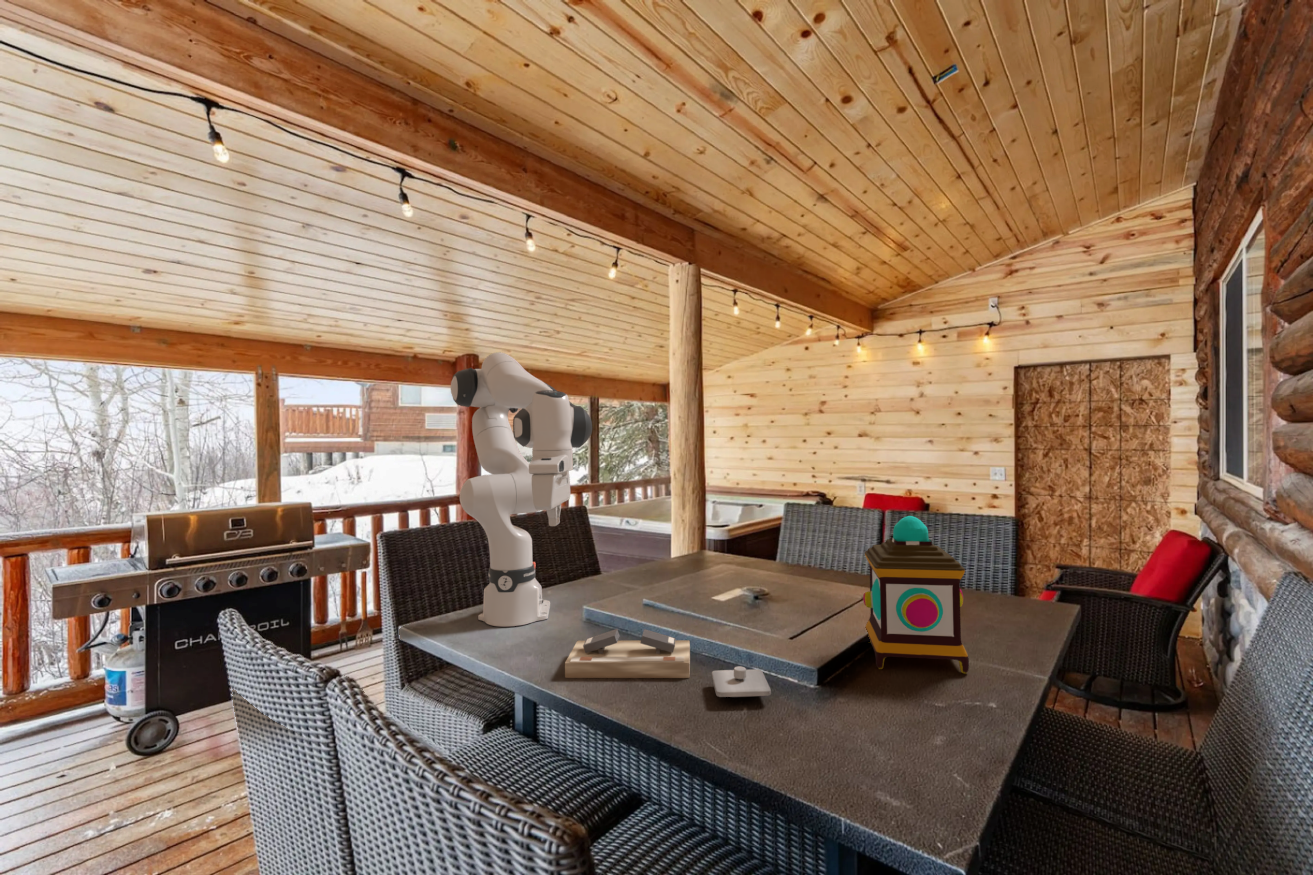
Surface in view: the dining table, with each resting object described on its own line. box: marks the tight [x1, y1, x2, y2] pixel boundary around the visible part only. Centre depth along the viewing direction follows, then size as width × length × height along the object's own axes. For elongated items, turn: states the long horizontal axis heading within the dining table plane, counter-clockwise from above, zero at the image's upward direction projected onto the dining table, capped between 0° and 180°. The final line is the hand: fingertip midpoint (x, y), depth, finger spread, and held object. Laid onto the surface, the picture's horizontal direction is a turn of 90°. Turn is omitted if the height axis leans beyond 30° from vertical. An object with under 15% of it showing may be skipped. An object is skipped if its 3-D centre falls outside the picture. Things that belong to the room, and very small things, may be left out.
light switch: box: [711, 665, 772, 698], centre depth 112 cm, size 10×10×5 cm
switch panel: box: [564, 639, 691, 679], centre depth 127 cm, size 13×25×4 cm, turn 86°
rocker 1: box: [583, 628, 621, 653], centre depth 127 cm, size 4×7×2 cm, turn 86°
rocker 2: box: [640, 628, 677, 653], centre depth 127 cm, size 4×7×2 cm, turn 86°
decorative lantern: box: [862, 515, 970, 674], centre depth 128 cm, size 20×20×30 cm
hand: (554, 525), depth 134 cm, fingers closed
